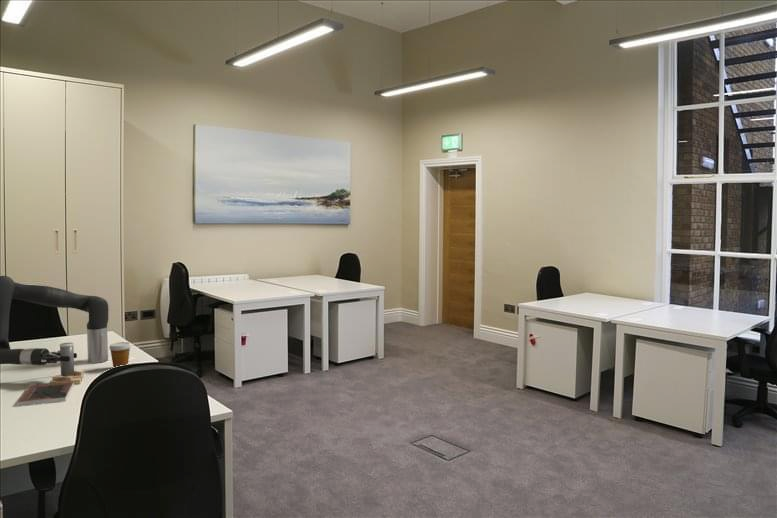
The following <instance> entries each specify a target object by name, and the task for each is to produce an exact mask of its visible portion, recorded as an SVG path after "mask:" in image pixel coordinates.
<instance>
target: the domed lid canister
mask: <svg viewBox="0 0 777 518" xmlns="http://www.w3.org/2000/svg"><path fill="white" fill-rule="evenodd" d="M74 344H75V343H74V342H63V343H60V344H59V351H60V357H61V356H70V361H61V362H60V375H61V376H71V375H74V371H75V358H74V353H75V351H74V350H75V349H74V347H75V345H74Z"/></svg>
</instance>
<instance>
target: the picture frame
mask: <svg viewBox="0 0 777 518" xmlns="http://www.w3.org/2000/svg"><path fill="white" fill-rule="evenodd" d="M74 386H75V385H74V382H68V383H57V384H51V383H49V384H47V383H46V384H38V385H37V384H36V385H29V386H28V388H27V389H26V390H25V391H24V393H23V394H22V395H21V397H20V398H19V399H18V400H17V407H22V405H25V406H33V404H35V405H42V403H45V404H52V403H51V402H55V403H62V402H61V401H65V402H67V400H66V399H68V397H69V396H70V394H71V392H72V390H73V388H74Z"/></svg>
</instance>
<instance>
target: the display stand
mask: <svg viewBox="0 0 777 518" xmlns="http://www.w3.org/2000/svg"><path fill="white" fill-rule="evenodd" d="M83 372H84V371H83V370H79V371H78V370H77V371H76V370H74V375H71V376H61V374H60V375H55V376H53V377H51V378H52V381H51V383H50V384H57V383H68V382H74V386H76V385H81V383H82V381H83V380H84V373H83ZM82 379H83V380H82Z"/></svg>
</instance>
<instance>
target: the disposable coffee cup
mask: <svg viewBox="0 0 777 518" xmlns="http://www.w3.org/2000/svg"><path fill="white" fill-rule="evenodd" d="M131 346H132V345H131V344H130V342H127V341H123V342H121V341H120V342H114V343H110V345H109V346H108V349H109V351H110V355H111V362H112V366H113V367H116V366H120V365H126V364H128V365H129V361H130V360H129V359H130V352H131V351H130V349H131Z"/></svg>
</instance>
